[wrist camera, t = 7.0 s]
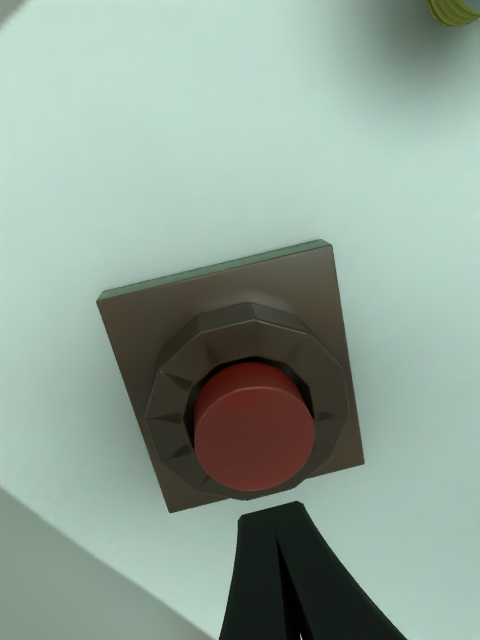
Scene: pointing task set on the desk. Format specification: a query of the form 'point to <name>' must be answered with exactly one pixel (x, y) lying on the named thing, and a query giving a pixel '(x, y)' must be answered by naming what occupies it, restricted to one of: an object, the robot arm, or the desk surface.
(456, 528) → the desk surface
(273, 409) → the button
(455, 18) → the light bulb
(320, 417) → the button block
